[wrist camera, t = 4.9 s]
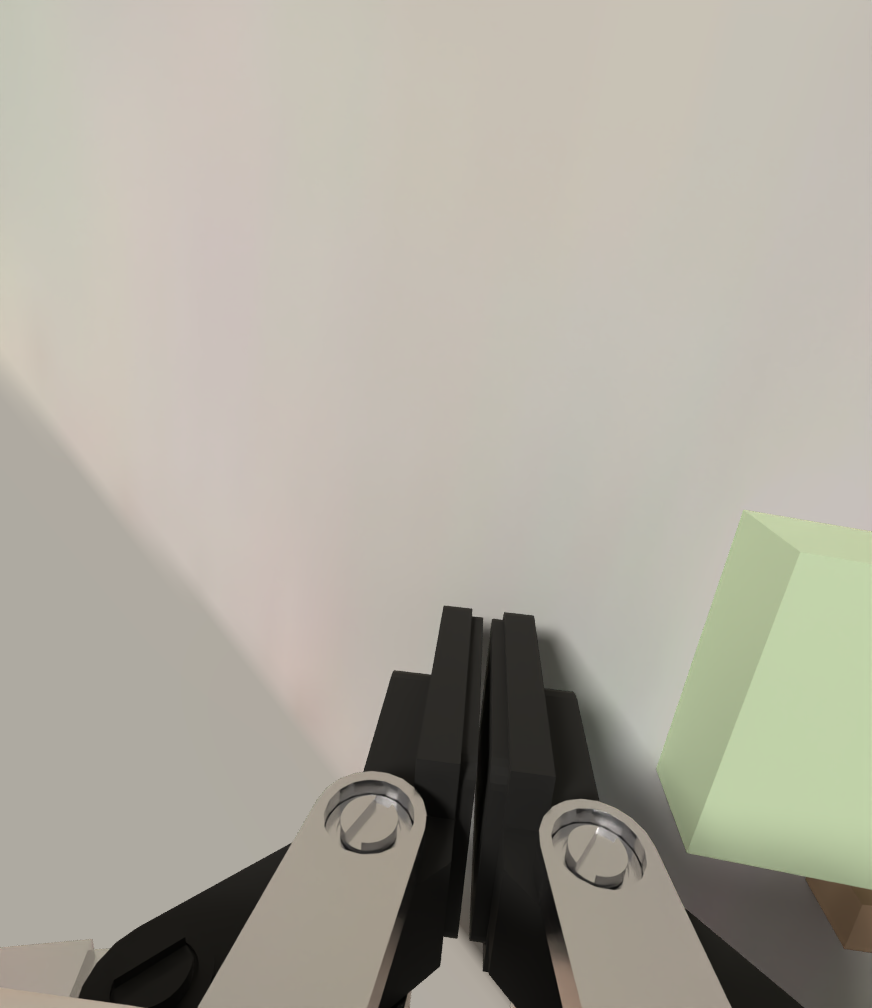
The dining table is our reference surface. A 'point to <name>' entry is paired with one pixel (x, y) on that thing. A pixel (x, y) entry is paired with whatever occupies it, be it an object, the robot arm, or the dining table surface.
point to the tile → (781, 707)
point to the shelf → (846, 912)
